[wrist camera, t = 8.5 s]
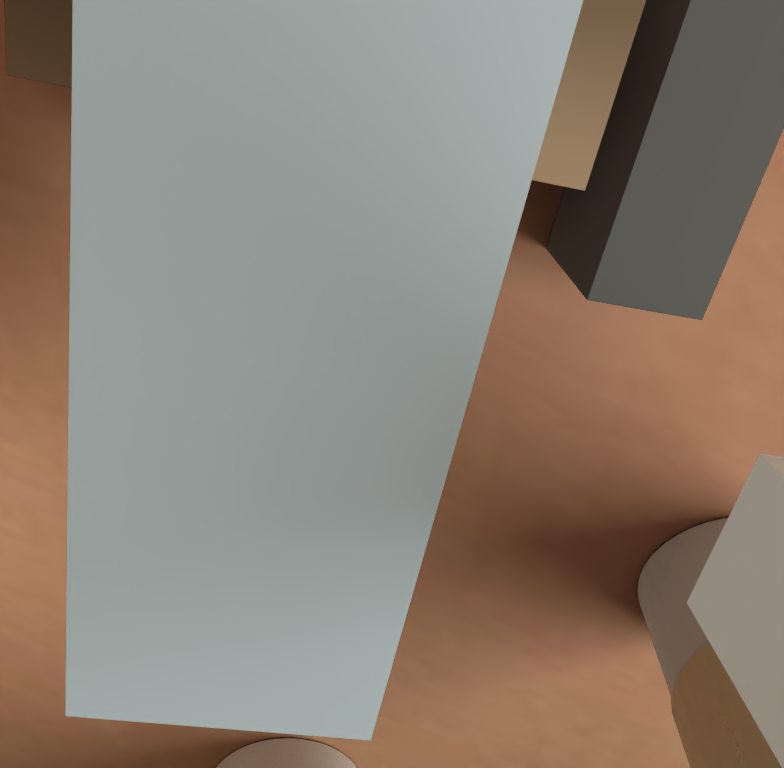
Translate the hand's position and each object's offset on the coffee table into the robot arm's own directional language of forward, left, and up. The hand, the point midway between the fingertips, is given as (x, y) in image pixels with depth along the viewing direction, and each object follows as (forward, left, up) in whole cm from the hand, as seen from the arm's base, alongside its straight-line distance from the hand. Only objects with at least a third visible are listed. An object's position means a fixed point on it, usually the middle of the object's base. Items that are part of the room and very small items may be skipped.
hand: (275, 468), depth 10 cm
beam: (+6, 0, -5) cm, 8 cm away
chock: (+5, -8, -12) cm, 16 cm away
